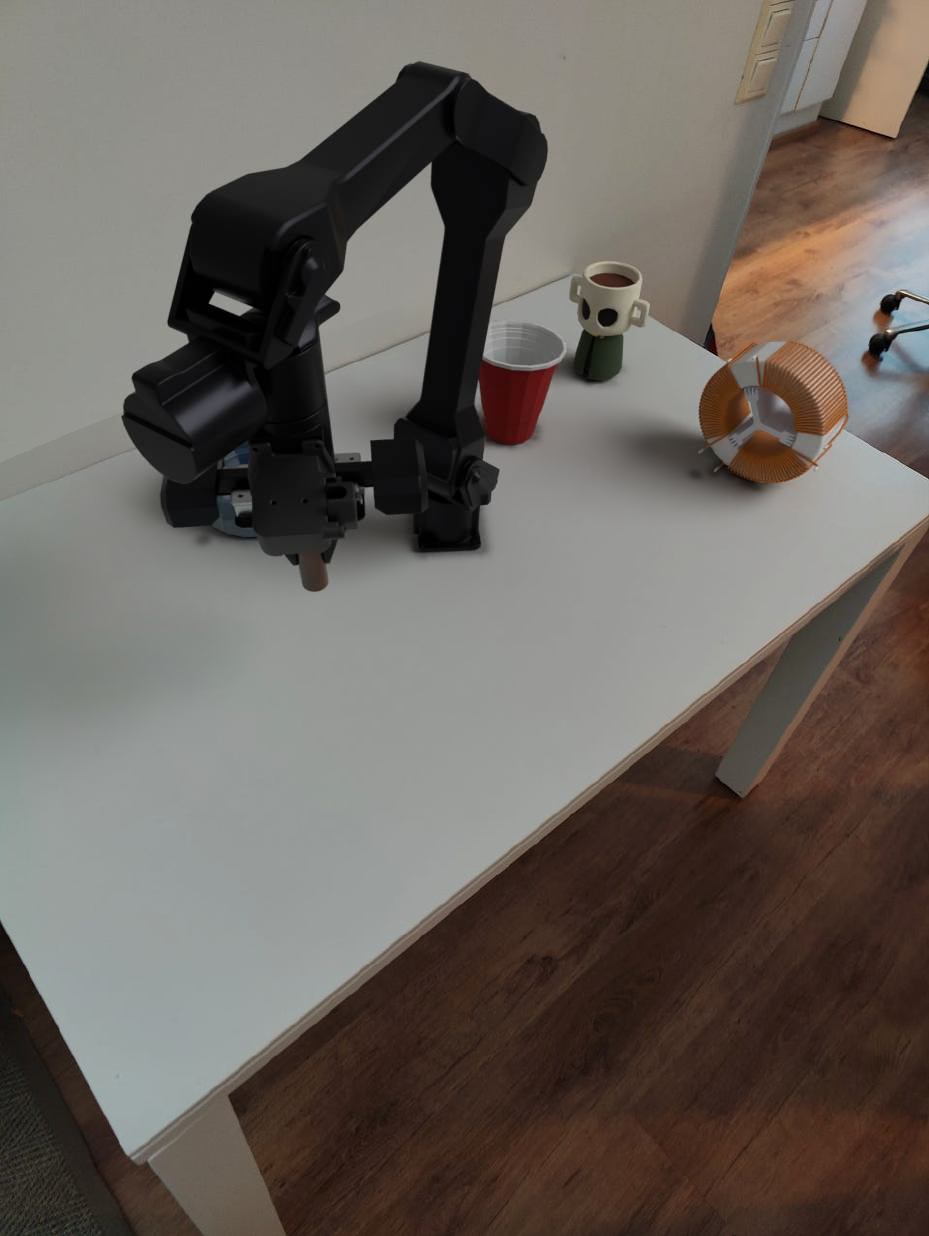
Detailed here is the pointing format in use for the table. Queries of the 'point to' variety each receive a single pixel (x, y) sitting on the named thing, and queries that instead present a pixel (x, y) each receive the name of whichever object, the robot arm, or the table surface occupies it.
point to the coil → (773, 411)
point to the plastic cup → (517, 377)
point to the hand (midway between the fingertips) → (311, 560)
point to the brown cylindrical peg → (313, 571)
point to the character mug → (606, 315)
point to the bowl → (226, 508)
